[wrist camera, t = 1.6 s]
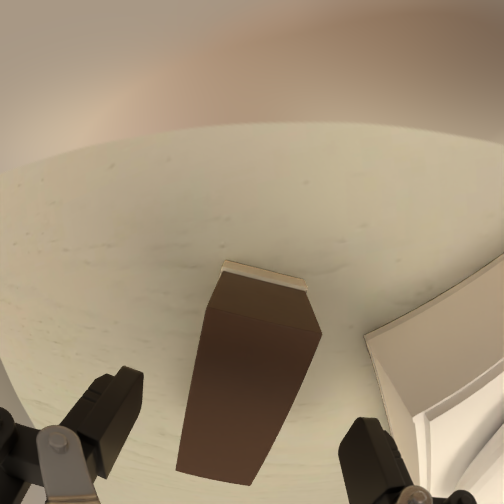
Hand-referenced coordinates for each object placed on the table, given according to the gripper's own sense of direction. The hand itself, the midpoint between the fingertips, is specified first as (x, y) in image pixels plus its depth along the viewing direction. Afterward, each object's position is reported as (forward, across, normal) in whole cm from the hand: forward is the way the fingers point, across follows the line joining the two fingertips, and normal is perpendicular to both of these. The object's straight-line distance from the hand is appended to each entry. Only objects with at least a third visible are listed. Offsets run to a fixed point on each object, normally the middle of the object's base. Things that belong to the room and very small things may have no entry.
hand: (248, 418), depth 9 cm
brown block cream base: (+9, 0, +3) cm, 9 cm away
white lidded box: (+9, -20, +1) cm, 22 cm away
